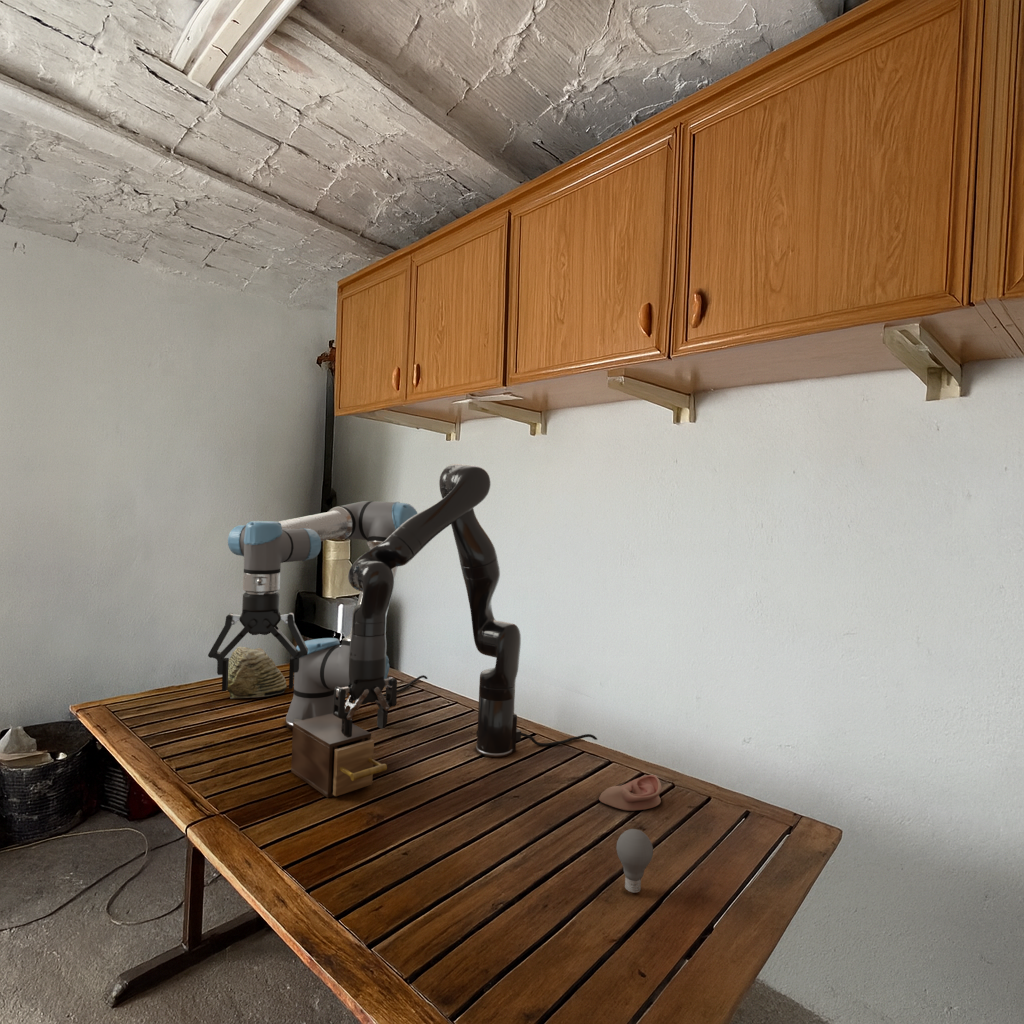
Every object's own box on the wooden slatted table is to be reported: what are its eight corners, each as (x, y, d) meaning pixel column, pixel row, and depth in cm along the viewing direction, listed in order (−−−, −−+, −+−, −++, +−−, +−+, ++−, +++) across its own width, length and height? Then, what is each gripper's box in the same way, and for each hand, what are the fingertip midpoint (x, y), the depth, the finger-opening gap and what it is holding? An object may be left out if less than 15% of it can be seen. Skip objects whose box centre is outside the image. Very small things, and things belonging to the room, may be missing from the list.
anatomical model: (598, 788, 134) (602, 766, 145) (597, 806, 134) (601, 783, 146) (662, 796, 132) (661, 774, 143) (662, 815, 132) (660, 791, 143)
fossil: (218, 695, 195) (220, 647, 195) (278, 685, 208) (279, 640, 207) (228, 703, 189) (230, 653, 188) (289, 692, 201) (290, 645, 201)
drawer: (387, 794, 134) (389, 749, 134) (350, 807, 128) (352, 760, 128) (335, 761, 150) (337, 721, 149) (300, 771, 143) (302, 729, 143)
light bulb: (610, 879, 108) (613, 822, 108) (644, 879, 109) (647, 822, 109) (619, 902, 102) (622, 840, 102) (655, 901, 103) (658, 840, 103)
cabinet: (369, 784, 141) (371, 733, 140) (327, 798, 133) (329, 744, 133) (330, 760, 152) (332, 713, 152) (291, 771, 145) (292, 722, 145)
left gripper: (195, 594, 132) (192, 695, 132) (320, 594, 138) (317, 691, 139) (202, 589, 139) (200, 685, 139) (321, 589, 145) (318, 681, 146)
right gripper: (346, 663, 125) (343, 745, 125) (406, 653, 135) (403, 729, 136) (327, 655, 130) (324, 734, 131) (386, 646, 141) (383, 719, 141)
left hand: (258, 688), depth 139 cm, fingers open, 13 cm apart
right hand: (364, 731), depth 133 cm, fingers open, 7 cm apart
